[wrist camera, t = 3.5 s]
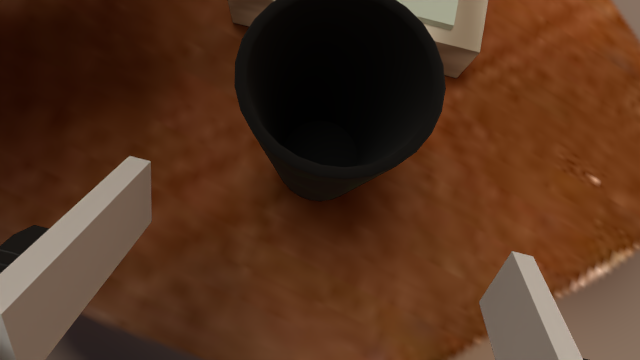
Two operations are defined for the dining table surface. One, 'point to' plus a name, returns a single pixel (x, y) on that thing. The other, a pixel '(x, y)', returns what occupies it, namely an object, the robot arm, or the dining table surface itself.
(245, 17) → the stand
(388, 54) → the cup
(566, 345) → the robot arm
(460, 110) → the dining table surface
